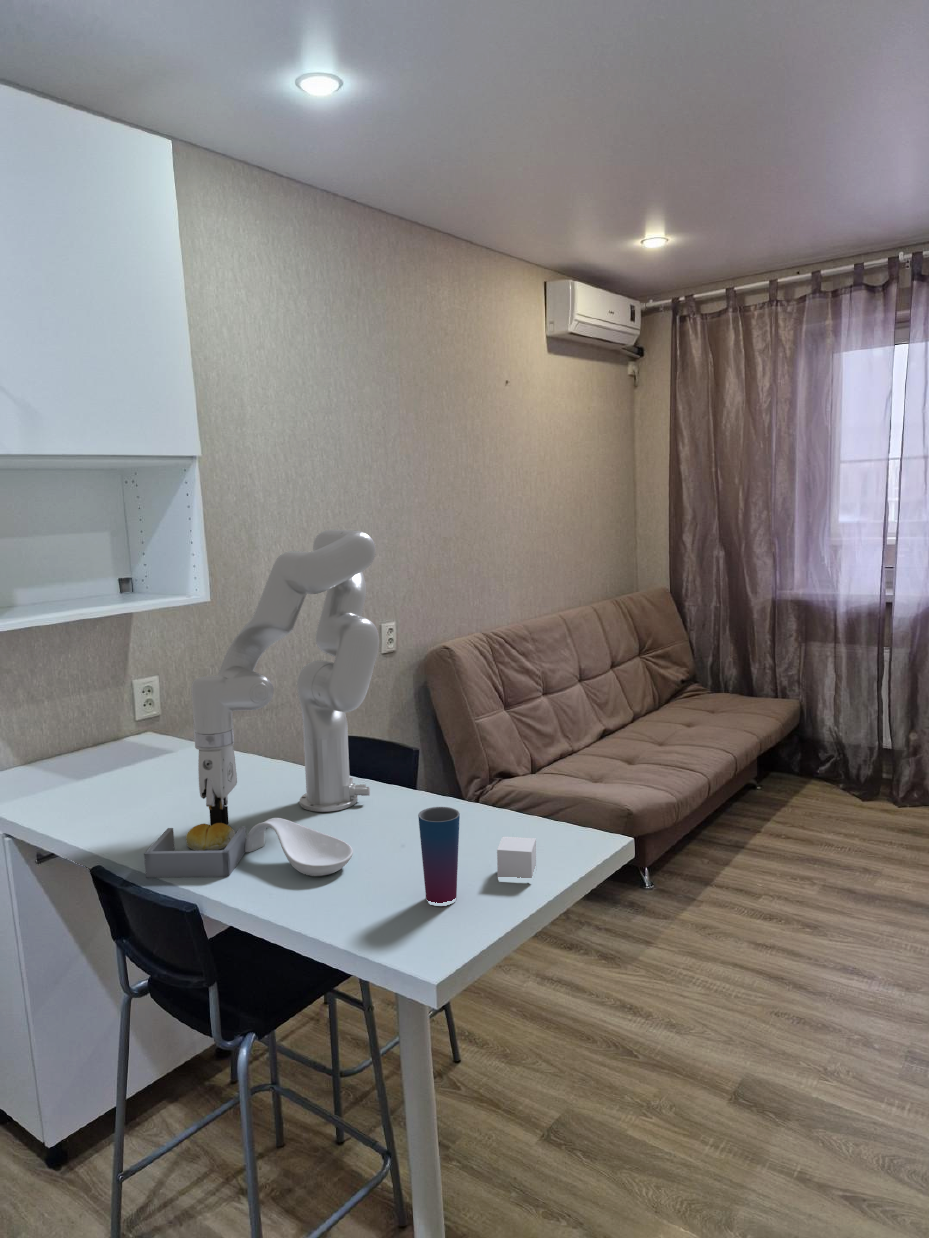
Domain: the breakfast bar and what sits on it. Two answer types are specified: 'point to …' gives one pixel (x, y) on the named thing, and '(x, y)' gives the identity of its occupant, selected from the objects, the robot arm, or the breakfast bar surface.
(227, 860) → the box
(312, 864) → the spoon rest
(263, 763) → the breakfast bar surface
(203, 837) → the bread roll
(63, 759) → the breakfast bar surface
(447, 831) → the cup
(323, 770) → the robot arm
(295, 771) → the breakfast bar surface
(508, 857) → the white cube
